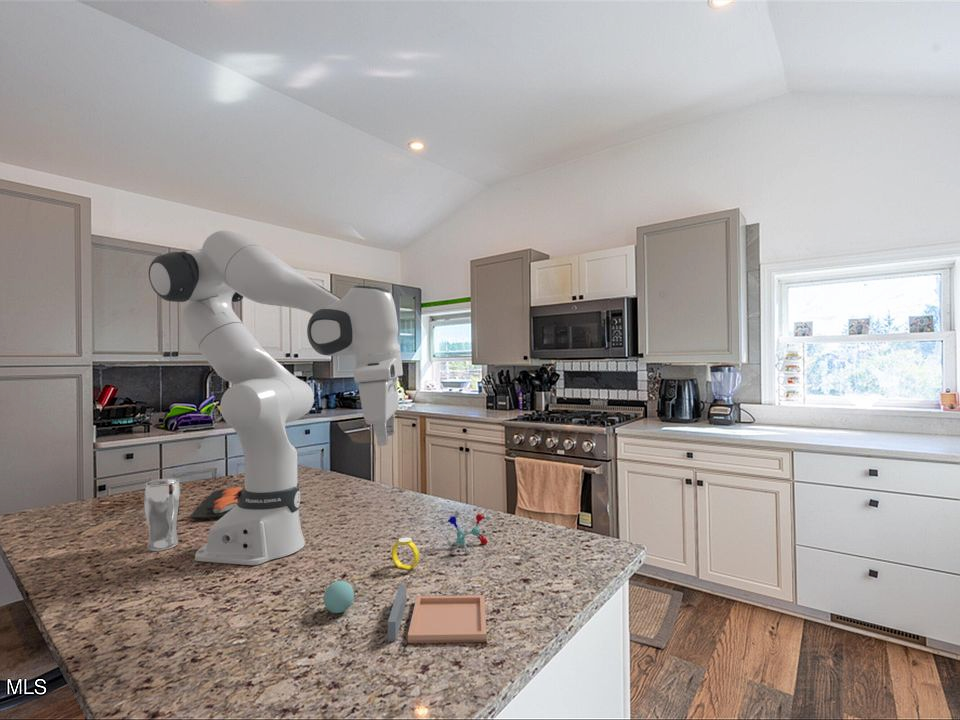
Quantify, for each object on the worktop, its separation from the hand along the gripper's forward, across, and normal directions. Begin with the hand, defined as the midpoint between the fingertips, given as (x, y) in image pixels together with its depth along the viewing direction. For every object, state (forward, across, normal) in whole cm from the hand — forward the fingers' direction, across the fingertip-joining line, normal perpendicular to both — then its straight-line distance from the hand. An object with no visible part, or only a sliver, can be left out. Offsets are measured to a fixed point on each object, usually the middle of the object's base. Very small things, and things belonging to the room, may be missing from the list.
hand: (386, 439), depth 92 cm
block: (+27, +15, +1) cm, 31 cm away
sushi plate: (+26, -54, -49) cm, 77 cm away
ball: (+26, +11, -9) cm, 30 cm away
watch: (+28, -5, 0) cm, 29 cm away
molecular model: (+30, -16, +12) cm, 36 cm away
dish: (+28, +16, +10) cm, 33 cm away
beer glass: (+23, -20, -57) cm, 65 cm away
